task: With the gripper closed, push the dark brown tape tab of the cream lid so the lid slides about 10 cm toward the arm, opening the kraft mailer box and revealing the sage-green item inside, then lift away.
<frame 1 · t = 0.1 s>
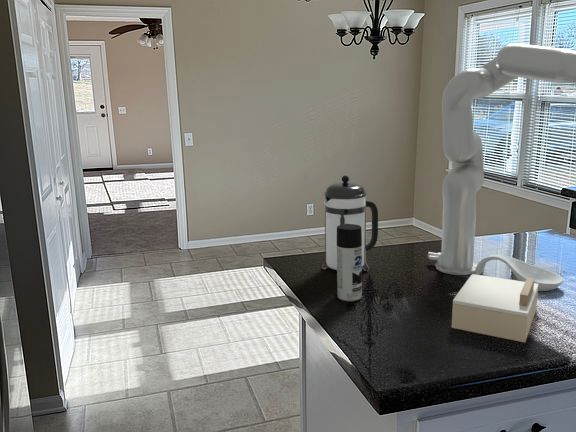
coffee press: (347, 269, 166), on the worktop
spoon rest: (516, 283, 151), on the worktop
mailer box: (495, 318, 128), on the worktop
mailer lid: (497, 288, 126), point 8 cm above the worktop, slide at 0.0 cm
spray can: (349, 297, 143), on the worktop
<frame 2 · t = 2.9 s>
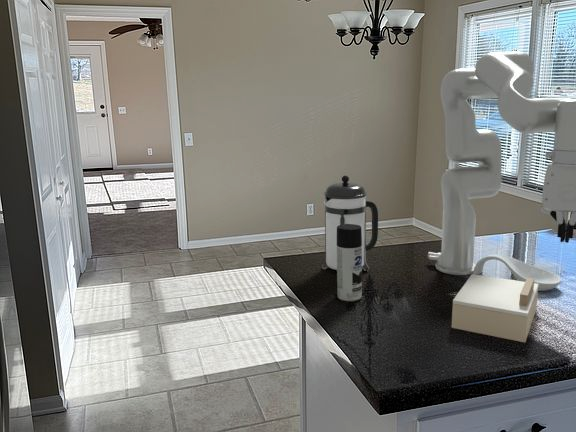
hand: (564, 240, 116), 21 cm above the worktop, fingers closed
nothing on the worktop moved.
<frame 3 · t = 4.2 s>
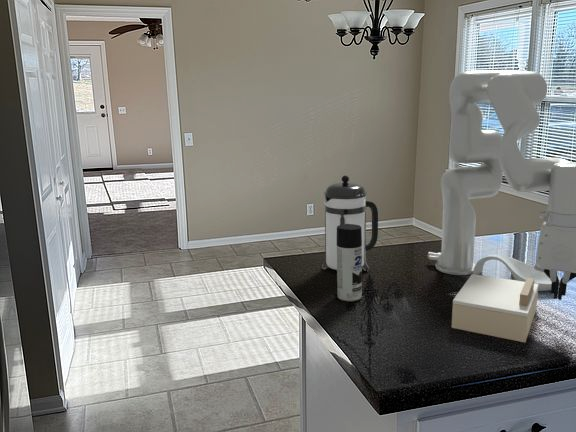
hand: (557, 297, 119), 8 cm above the worktop, fingers closed
nothing on the worktop moved.
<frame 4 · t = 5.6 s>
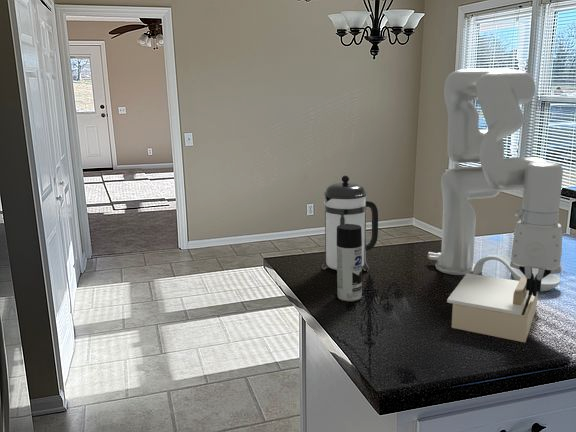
hand: (532, 293, 122), 8 cm above the worktop, fingers closed
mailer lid: (491, 287, 127), point 8 cm above the worktop, slide at 1.3 cm, touching gripper
everything else where it was.
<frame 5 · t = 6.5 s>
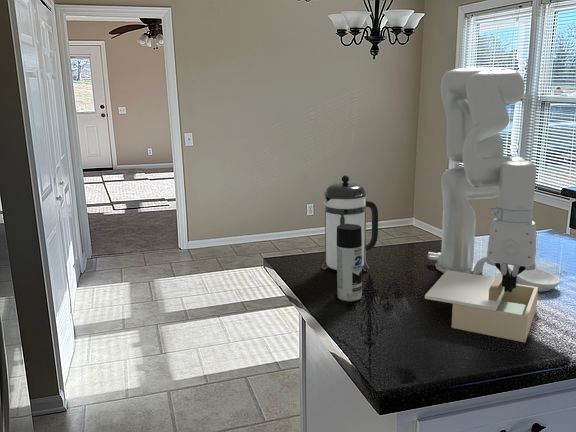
hand: (508, 289, 125), 8 cm above the worktop, fingers closed
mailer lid: (469, 283, 129), point 8 cm above the worktop, slide at 6.6 cm, touching gripper
everything else where it was.
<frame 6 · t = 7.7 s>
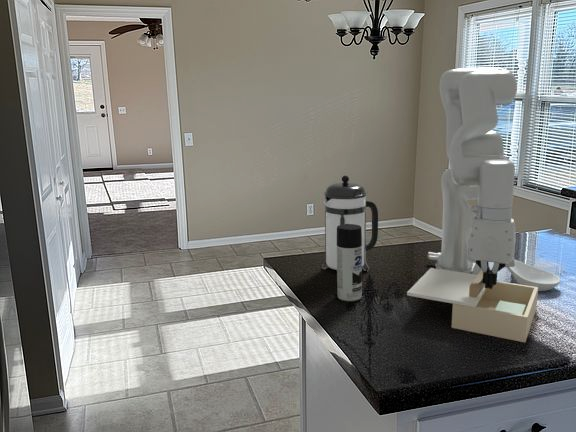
hand: (489, 286, 127), 8 cm above the worktop, fingers closed
spoon rest: (514, 284, 151), on the worktop, touching arm
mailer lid: (451, 280, 132), point 8 cm above the worktop, slide at 11.0 cm, touching gripper
everything else where it was.
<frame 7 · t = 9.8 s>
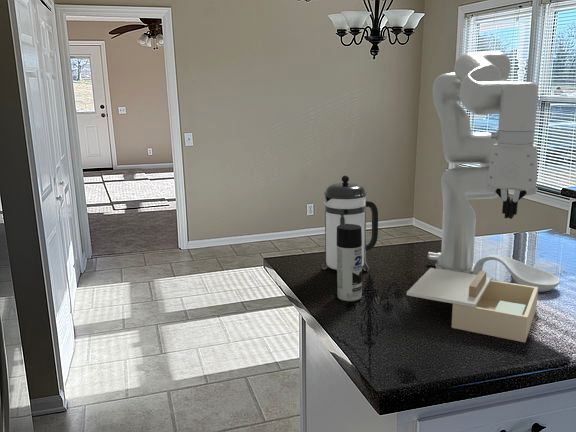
hand: (509, 217, 123), 25 cm above the worktop, fingers closed
spoon rest: (513, 284, 151), on the worktop
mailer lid: (450, 280, 132), point 8 cm above the worktop, slide at 11.1 cm
everything else where it was.
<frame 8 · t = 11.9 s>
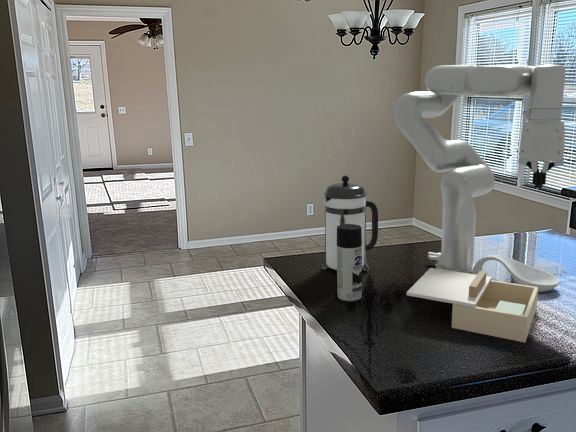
hand: (538, 187, 137), 29 cm above the worktop, fingers closed
nothing on the worktop moved.
at the end: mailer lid slide at 11.1 cm; spray can moved 0.2 cm from its start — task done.
